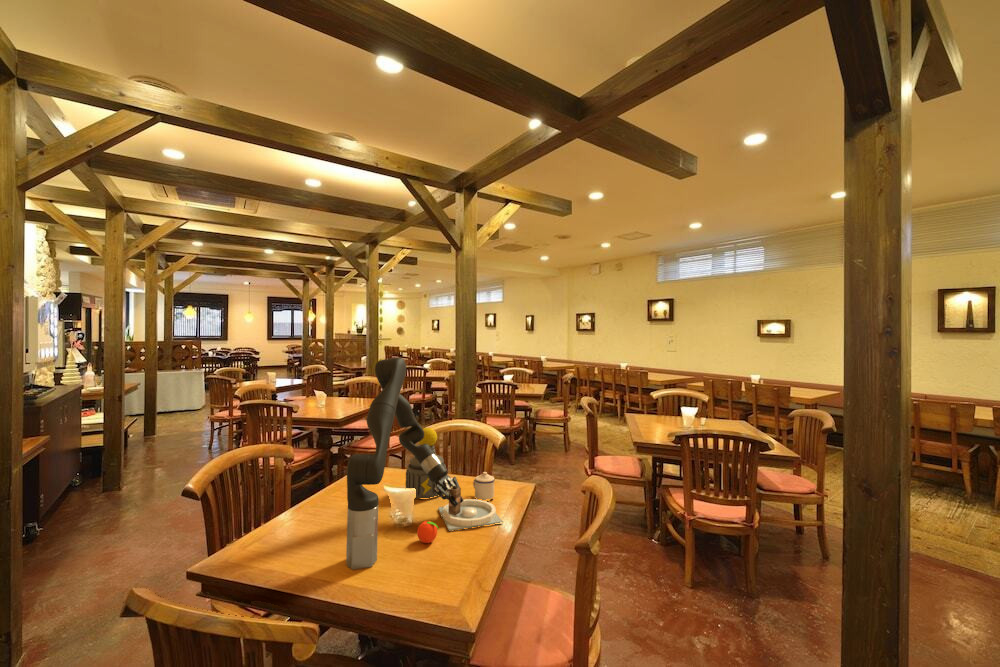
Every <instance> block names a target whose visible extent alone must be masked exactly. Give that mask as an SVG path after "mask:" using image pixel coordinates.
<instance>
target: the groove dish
mask: <svg viewBox="0 0 1000 667" xmlns="http://www.w3.org/2000/svg"><path fill="white" fill-rule="evenodd" d="M438 509H439V510H438ZM496 509H497V508H496V506H495V505H494V504H493V503H491V502H490V501H489V502H487V501H483V500H478V499H475V498H473V499H471V498H467V499H466V498H465V499H463V502H462V503H461V506H460V513H459V514H457V515H452V514H448V513H449V503H447V504H445V505H444V506H438V508H437V510H438V512H439V511H440V512H439V514H440V513H441V514H440V516H441V515H442V516H441V518H442V517H443V518H442V520H443V519H444V521H445V523H444V524H446V525H445V527H446V526H447V527H446V528H448V529H447V530H449V531H451V532H453V531H452V530H458V529H464V528H472V527H478V526H484V525H490V524H495V523H500V522H503V523H504V521H503V520H502V518H500V516H499V515H498V514H497V510H496ZM444 521H443V522H444ZM472 529H473V528H472ZM449 531H448V532H449ZM458 531H459V530H458Z"/></svg>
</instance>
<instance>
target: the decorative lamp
mask: <svg viewBox="0 0 1000 667" xmlns="http://www.w3.org/2000/svg"><path fill="white" fill-rule="evenodd" d="M422 429H423V430H424V438H423V439H422V440H421V441H419V442H418V444H419V446H420V445H423V444H428V445H429V446H430V448H431V449H432V450H433V452H434V453H435V455H436V456H437V457H438V458H439V459H440V461H441V462H442V463H443V465H444V466H445V468H446V469H447V466H446V464H445V459H444V458H443V457H442V456H441V455H439V454H437V453H436V448H435V444H436V443H437V440H438V434H437V432H436V431H435V429H433V428H431V427H423V428H422ZM447 470H448V469H447ZM404 485H405V489H406V488H415V489H416V498H430V497H434V496H438V494H437V493H436V492H434V489H435V488H436V483H432V481H431V480H430V478H429V477H428V476H427V474H426V473H425V471H424V470H423V468H422V466H421V464H420V463H419V461H418V460H417V459H416V457H415V456H413V457H411V458H410V460H409V464H408V465H407V469H406V470H405V484H404Z"/></svg>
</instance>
